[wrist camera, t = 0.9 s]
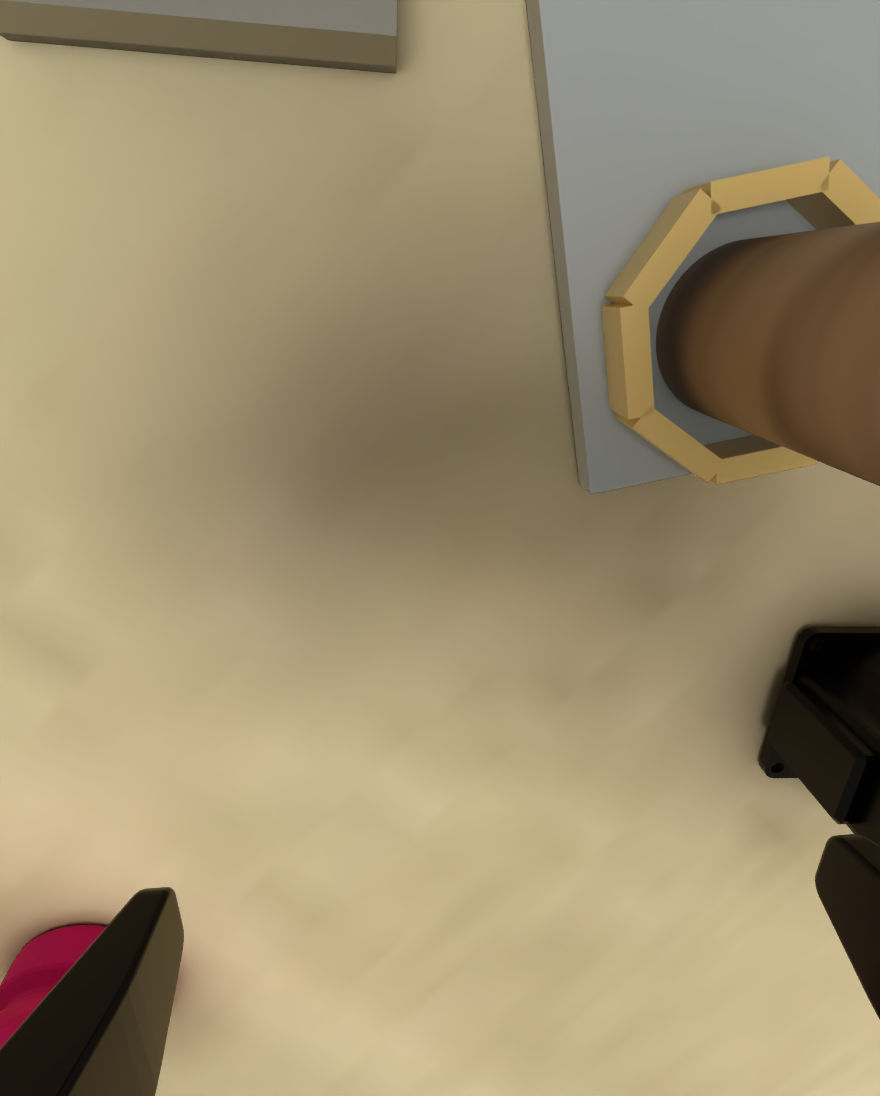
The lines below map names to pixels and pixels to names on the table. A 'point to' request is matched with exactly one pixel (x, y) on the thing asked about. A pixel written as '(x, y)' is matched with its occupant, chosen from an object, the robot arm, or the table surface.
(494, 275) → the table surface
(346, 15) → the gray square tray
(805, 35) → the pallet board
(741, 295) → the cylinder
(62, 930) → the pink bowling pin
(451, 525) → the table surface
